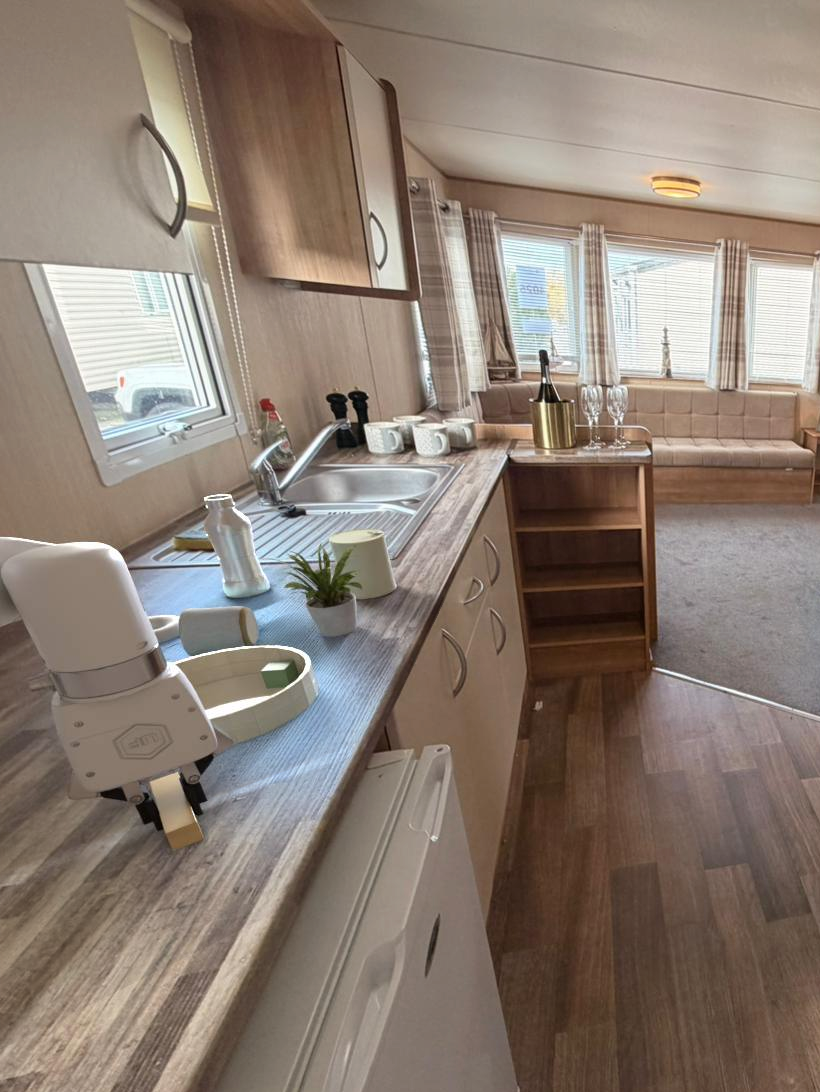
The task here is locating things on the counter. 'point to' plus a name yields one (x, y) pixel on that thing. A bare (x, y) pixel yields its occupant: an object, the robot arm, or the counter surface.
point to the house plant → (328, 594)
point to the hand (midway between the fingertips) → (178, 815)
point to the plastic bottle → (234, 548)
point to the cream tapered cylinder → (365, 561)
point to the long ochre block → (175, 812)
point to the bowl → (249, 689)
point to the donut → (165, 627)
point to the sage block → (279, 673)
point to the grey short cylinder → (217, 629)
